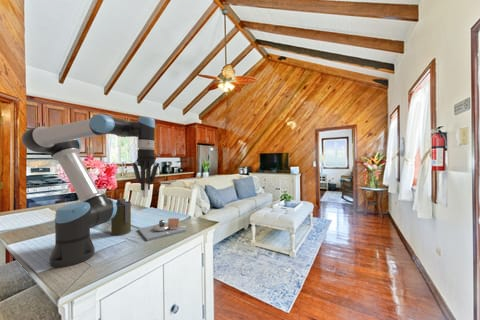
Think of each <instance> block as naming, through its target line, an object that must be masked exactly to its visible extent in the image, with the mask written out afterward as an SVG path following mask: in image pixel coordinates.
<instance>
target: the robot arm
mask: <svg viewBox="0 0 480 320" xmlns="http://www.w3.org/2000/svg"><path fill="white" fill-rule="evenodd" d="M103 135H104V136H105V135H113V136H117V137H121V138H122V137H123V138H127V137H128V138H131V137H132V138H133V137H136V138H137V148H138V149H137V158H136V160H135V162H132V163H131V164H130V165H131V167H132V168H133V171H134V176H135V181H136V183H139V184H140V191H142V198H148V197H149V191H150V189H151V184H152V183H154V182H155V179H156V174H157V171H158V168H159V166H160V163H158V162H157V161H156V158H155V145H156V143H155V141H156V140H155V136H156V120H155V119H154V118H152V117H150V116H139V117H138V120H137V121H130V120H129V121H128V120H124V119H120V118H116V117H113V116H111V115H107V114H100V113H96V114H94V115H93V116H91V118H90V119H84V120H77V121H73V122H69V123H63V124H58V125H53V126H48V127H47V126H44V125H41V126H36V127H31V128H29V129H27V130H25V131H24V132H23V134H22V136H21V142H22V144H23V146H24V147H25V148H26V149H28V150H30V151H32V152H35V153H41V154H49V155H50V157H51V158H52V159H53V161H57V162H58V163H59V165H60V167H61V168H62V170H63V172H64V173H65V175H66V177H67V179H68V181H69V183H70V184H71V187H72V188H73V190H74V192H75V194H76V195H77V197H78V198H79V201H80V202H75V203H69V204H66V205H63V206H60V207H59V208H58V209H57V210H56V212H55V215H54V227H55V229H54V230H55V231H54V233H55V236H54V237H55V242H54V243H55V244H54V247H53V249H52V252H51V254H50V257H49V266H51V267H53V268H62V267H63V268H64V267H68V266H73V265H74V266H75V265H77V264H80V263H83V262H85V261H87V260H90V259H91V258H92V257H93V256H94V255H95V252H96V251H95V250H96V249H95V246H94V243H93V241H92V239H91V229H92V228H95V227H98V226H99V225H103V224H106V223H107V222H109V221H111V219H112V218H114V216H115V215H116V212H117V205H116V202H115V200H114V199H113V198H107V196H106V194H105V193H102V192H100V191H99V189H98V187H97V185H96V183H95V182H94V180H93V177H92V176H91V175H90V173H89V171H88V169H87V167H86V165H85V163H84V162H83V160H82V159H81V157H80V155H79V154H80V153H81V148H82V141H81V140H83V139H87V138H93V137H94V138H95V137H98V136H103ZM139 167H140V171H139Z"/></svg>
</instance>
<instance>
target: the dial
mask: <svg viewBox="0 0 480 320" xmlns="http://www.w3.org/2000/svg"><path fill="white" fill-rule="evenodd" d="M165 221H166V220H164V219H163V220H162V219H161V220H159V221H158V222H159V223H157V224H154V226H153V225H152V226H153V231H157V232H161V231H166V230H169V229H170V228H178V227H179V225H180V218H177V217H175V218H171V217H169V218H168V219H167V222H165Z"/></svg>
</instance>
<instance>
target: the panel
mask: <svg viewBox="0 0 480 320" xmlns="http://www.w3.org/2000/svg"><path fill="white" fill-rule="evenodd" d="M154 225H155V224H154ZM154 225H150V226H149V225H148V226H144V227H138V228H137V231H138V232H139V233H140V235H141V236H142V238H144V239H145V241H147V242H150V241H153V240H157V239H161V238H166V237H169V236H172V235H173V236H174V235H177V234H181V233H185V232H187V229H186V227H187V225H185V226H183V225H180V224H179V227H178V228H170V229H169V230H166V231H161V232H157V231H153V226H154Z"/></svg>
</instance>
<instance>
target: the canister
mask: <svg viewBox="0 0 480 320" xmlns="http://www.w3.org/2000/svg"><path fill="white" fill-rule="evenodd" d="M115 203H116V205H117V212H116V215H115V216H114V218H112V219H111V220H110V221H111V222H110V229H111V230H110V235H111V236H117V237H118V236H124V235H127V234H129V233H131V232H132V225H131V224H132V220H131V219H132V216H131V215H132V212H131V211H132V208H131V207H132V206H131V204H132V202H131V201H127V200H126V198H124V197H123V198H122V197H121V198H116V202H115Z"/></svg>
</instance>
